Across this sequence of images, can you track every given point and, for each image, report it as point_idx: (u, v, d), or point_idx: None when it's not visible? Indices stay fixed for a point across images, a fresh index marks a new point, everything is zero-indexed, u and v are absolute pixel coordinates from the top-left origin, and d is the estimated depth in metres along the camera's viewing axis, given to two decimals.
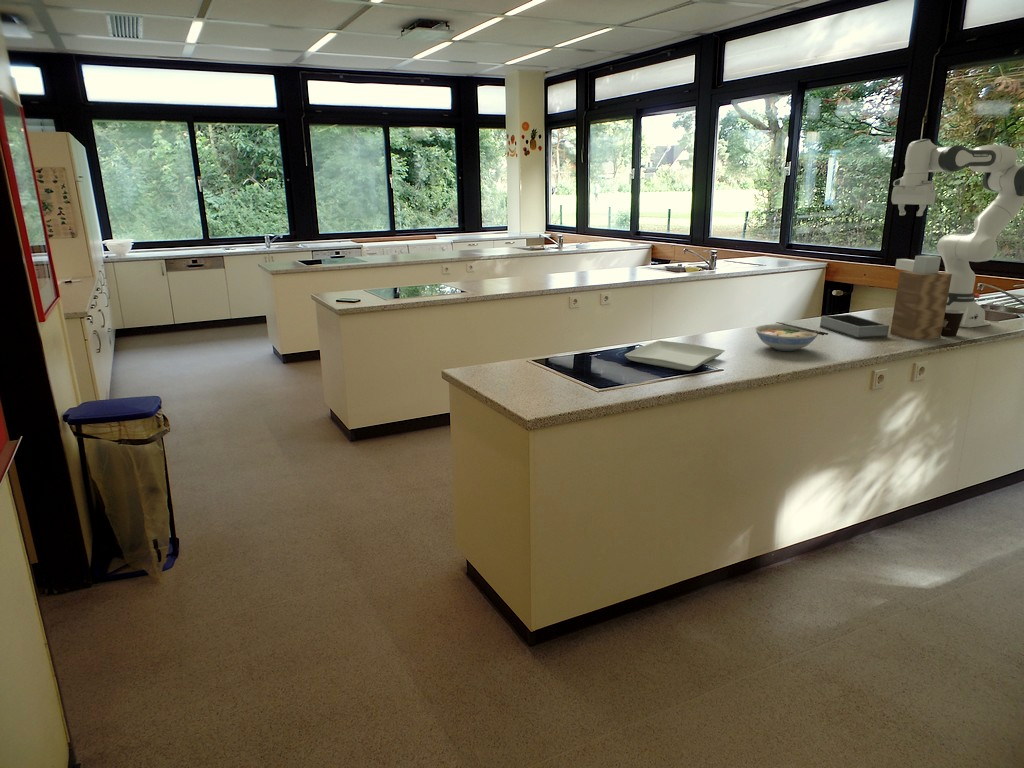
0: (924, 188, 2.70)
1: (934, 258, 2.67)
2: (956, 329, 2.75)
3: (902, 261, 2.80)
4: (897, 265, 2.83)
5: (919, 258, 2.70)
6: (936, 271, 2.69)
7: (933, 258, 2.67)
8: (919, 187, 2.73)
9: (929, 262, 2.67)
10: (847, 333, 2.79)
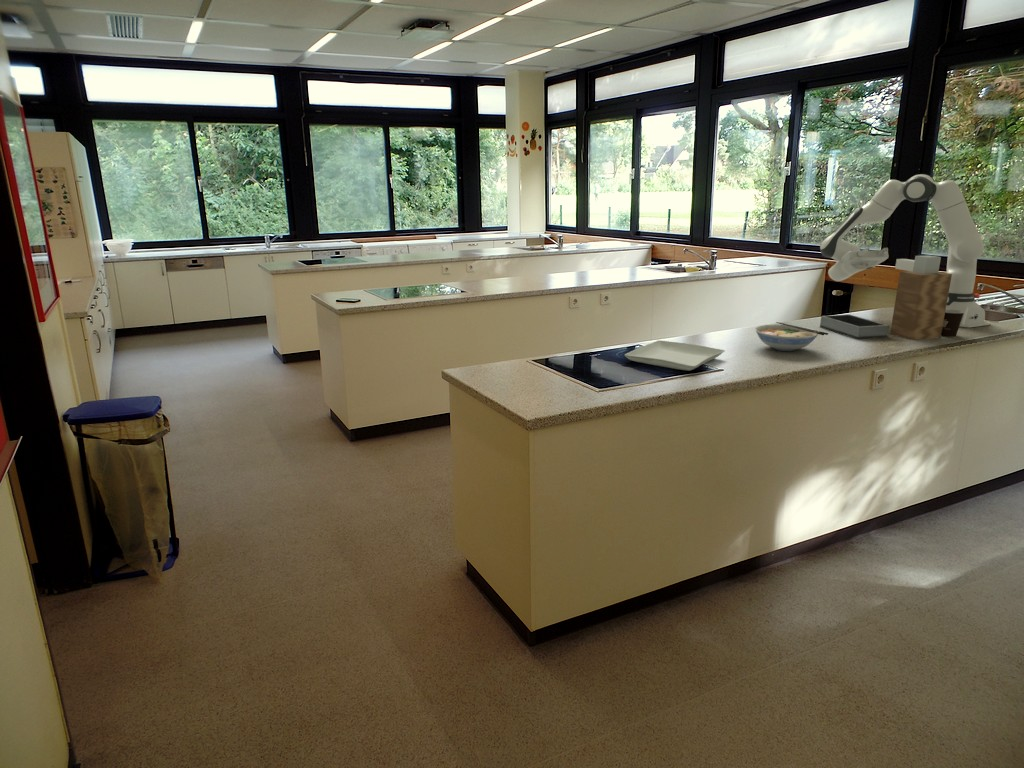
0: (846, 263, 3.04)
1: (934, 258, 2.67)
2: (956, 329, 2.75)
3: (902, 261, 2.80)
4: (897, 265, 2.83)
5: (919, 258, 2.70)
6: (936, 271, 2.69)
7: (933, 258, 2.67)
8: (851, 263, 3.05)
9: (929, 262, 2.67)
10: (847, 333, 2.79)
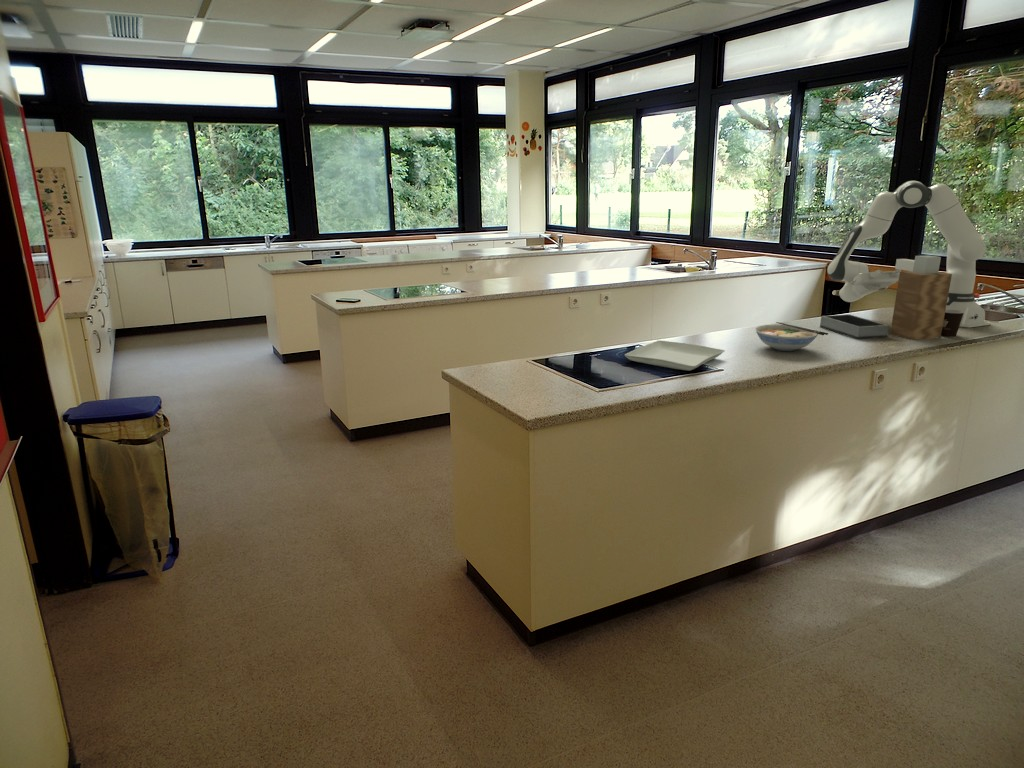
0: (858, 285, 2.98)
1: (934, 258, 2.67)
2: (956, 329, 2.75)
3: (902, 261, 2.80)
4: (897, 265, 2.83)
5: (919, 258, 2.70)
6: (936, 271, 2.69)
7: (933, 258, 2.67)
8: (863, 285, 2.99)
9: (929, 262, 2.67)
10: (847, 333, 2.79)
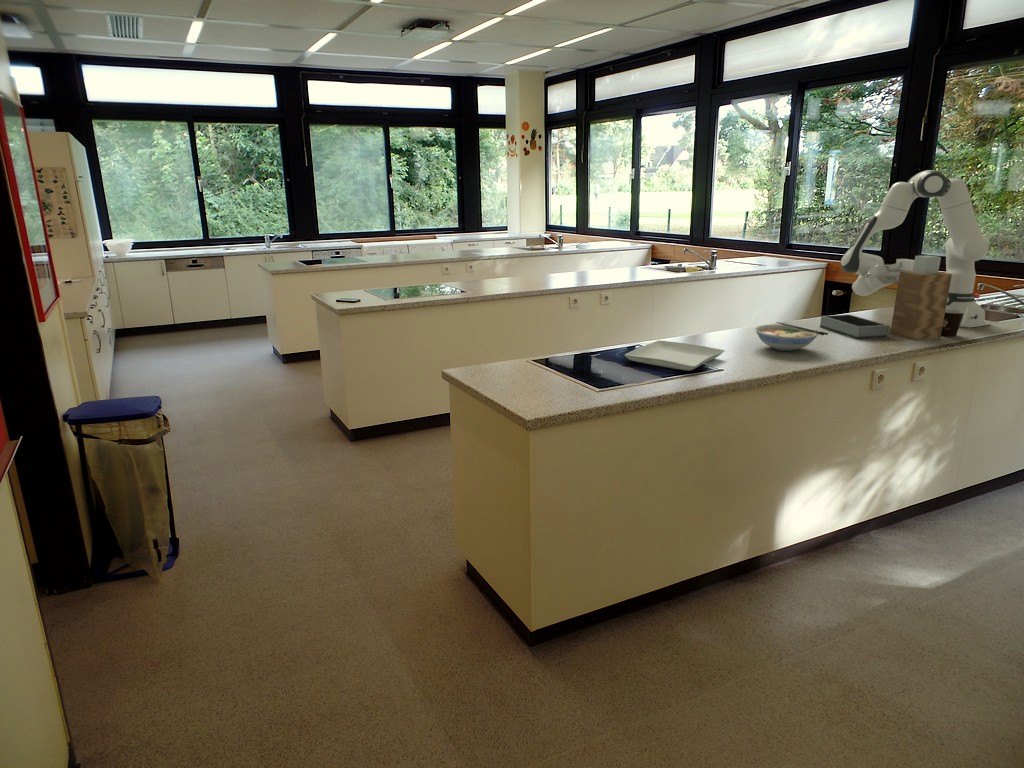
0: (873, 278, 2.89)
1: (934, 258, 2.67)
2: (956, 329, 2.75)
3: (902, 261, 2.80)
4: None
5: (919, 258, 2.70)
6: (936, 271, 2.69)
7: (933, 258, 2.67)
8: (878, 278, 2.90)
9: (929, 262, 2.67)
10: (847, 333, 2.79)
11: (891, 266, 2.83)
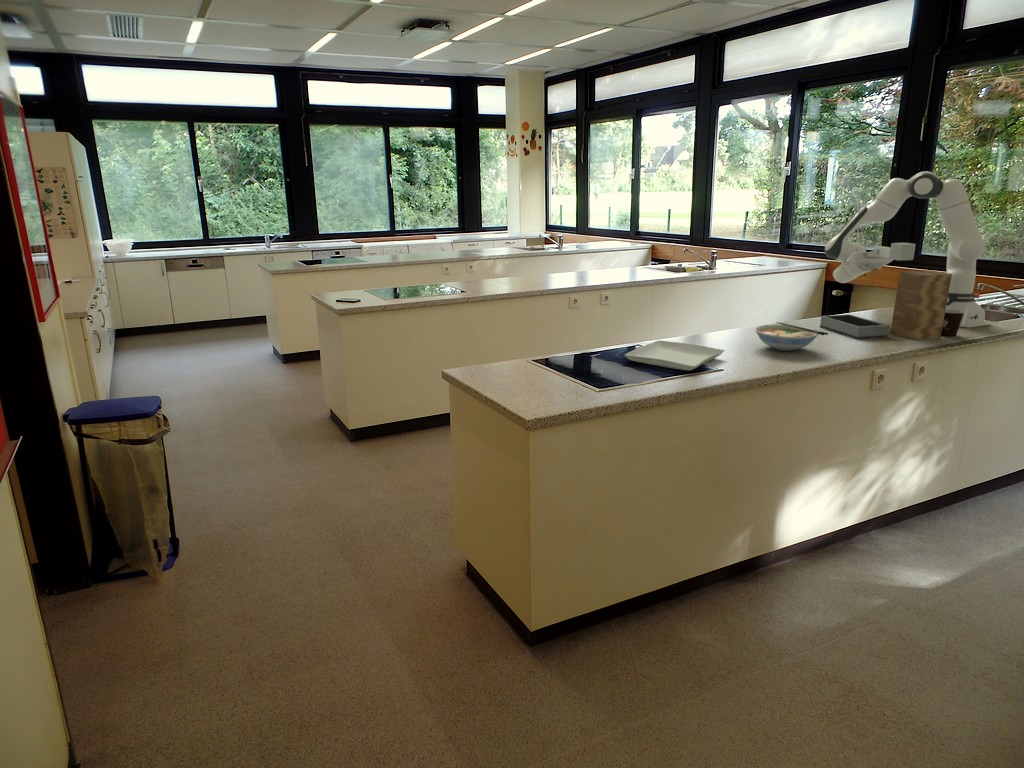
0: (852, 265, 2.99)
1: (909, 245, 2.76)
2: (956, 329, 2.75)
3: (879, 248, 2.90)
4: None
5: (895, 245, 2.79)
6: (911, 258, 2.78)
7: (908, 245, 2.76)
8: (856, 265, 3.00)
9: (905, 249, 2.77)
10: (847, 333, 2.79)
11: (869, 253, 2.92)
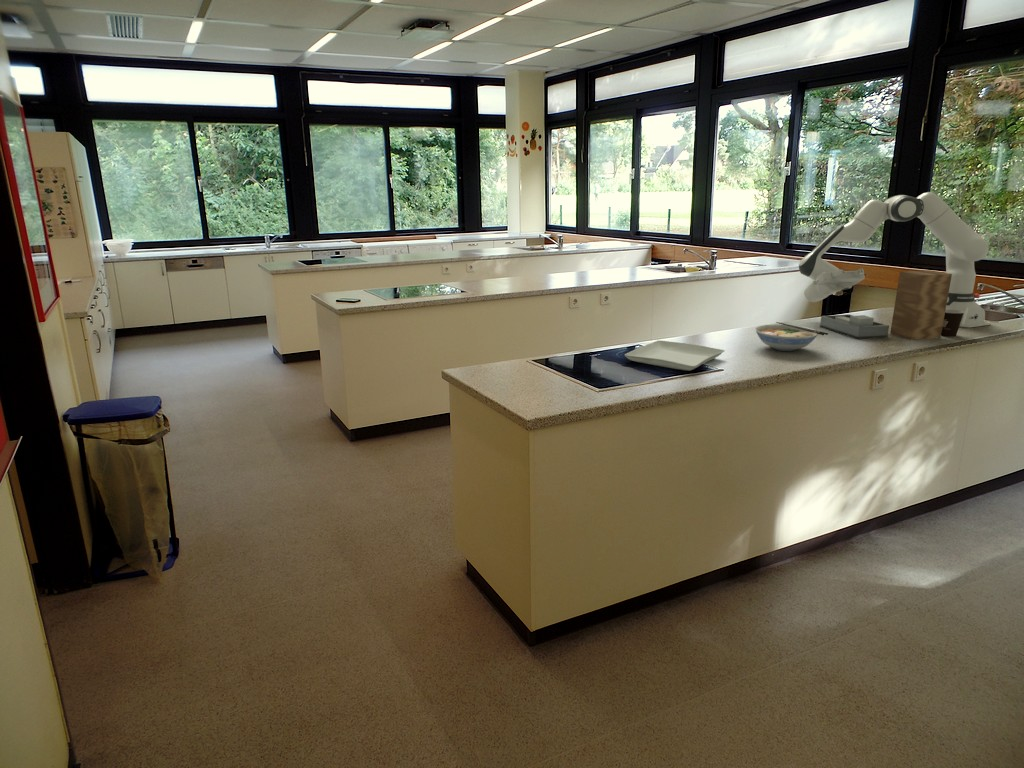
0: (821, 284, 2.92)
1: (867, 319, 2.77)
2: (956, 329, 2.75)
3: (840, 319, 2.90)
4: None
5: (853, 318, 2.80)
6: None
7: (866, 319, 2.77)
8: (826, 284, 2.93)
9: (862, 323, 2.77)
10: (847, 333, 2.79)
11: (834, 273, 2.85)
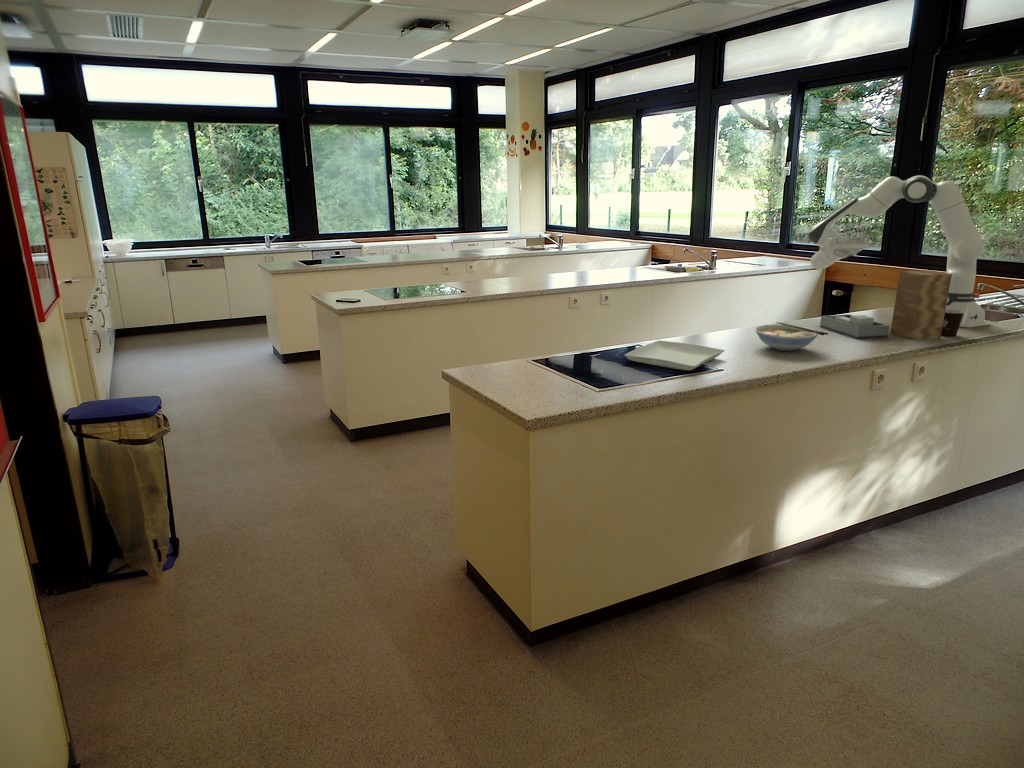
0: (827, 251, 3.01)
1: (867, 319, 2.77)
2: (956, 329, 2.75)
3: (840, 319, 2.90)
4: None
5: (853, 318, 2.80)
6: None
7: (866, 319, 2.77)
8: (832, 251, 3.02)
9: (862, 323, 2.77)
10: (847, 333, 2.79)
11: (839, 239, 2.95)
